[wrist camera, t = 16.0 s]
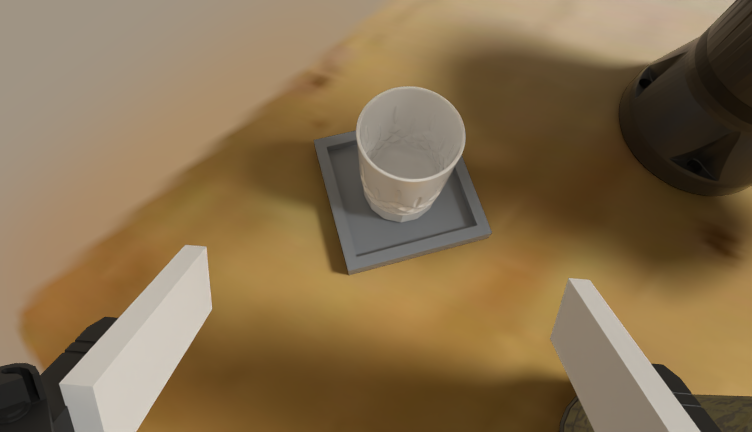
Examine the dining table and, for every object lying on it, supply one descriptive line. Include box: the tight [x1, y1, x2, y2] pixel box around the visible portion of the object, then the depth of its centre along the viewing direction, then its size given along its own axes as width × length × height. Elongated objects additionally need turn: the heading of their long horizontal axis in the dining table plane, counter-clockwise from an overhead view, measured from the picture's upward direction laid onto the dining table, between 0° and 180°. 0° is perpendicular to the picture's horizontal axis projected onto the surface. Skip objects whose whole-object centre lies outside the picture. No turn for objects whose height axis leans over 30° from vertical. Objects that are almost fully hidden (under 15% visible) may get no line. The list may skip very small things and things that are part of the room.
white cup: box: [356, 86, 466, 222], centre depth 37 cm, size 8×8×10 cm
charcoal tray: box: [314, 131, 492, 275], centre depth 41 cm, size 13×13×2 cm
